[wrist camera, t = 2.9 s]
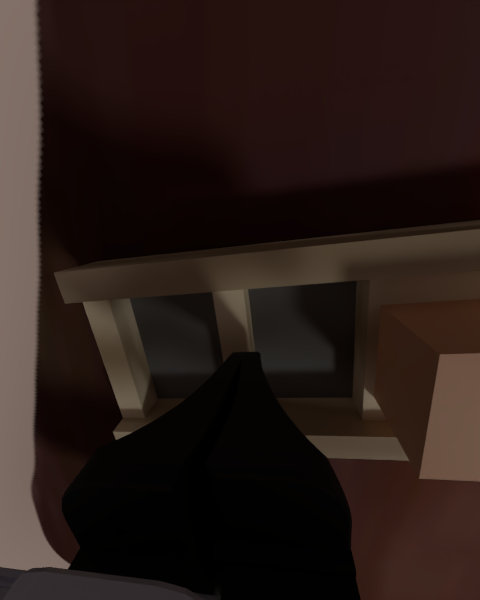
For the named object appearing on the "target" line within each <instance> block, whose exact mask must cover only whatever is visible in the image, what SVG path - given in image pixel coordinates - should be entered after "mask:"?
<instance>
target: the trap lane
mask: <svg viewBox="0 0 480 600" xmlns="http://www.w3.org/2000/svg"><path fill="white" fill-rule="evenodd" d="M54 275H55V278H56V280H57V283H58V286H59V288H60V291H61V294H62V296H63V299H64V302H65V303H78V302H83V305H84V308H85V310H86V313H87V316H88V319H89V322H90V325H91V328H92V331H93V333H94V336H95V339H96V342H97V345H98V348H99V351H100V354H101V356H102V359H103V362H104V365H105V368H106V371H107V374H108V377H109V379H110V382H111V385H112V388H113V391H114V394H115V397H116V399H117V402H118V405H119V408H120V411H121V414H122V417H123V419H122V420H121V421H120V423H119V424H118V425H117V427H116V428H115V430H114V431H113V433H114V436H115V438H116V440H117V439H120V438H122V437H124V436H126V435H128V434H130V433H132V432H134V431H136V430H138V429H140V428H141V427H143V426H145V425H147V424H149V423H150V422H152V421H154V420H155V419H157V418H159V417H160V416H162V415H163V414H165V413H166V412H168V411H169V410H171V409H172V408H174V407H175V406H177V405H178V404H180V403H181V402H182V401H184V400H185V399H186V398H187V397H189V396H190V395H191V394H192V393H194V392H195V391H196V390H197V389H198V388H199V387H200V386H201V385H202V384H203V383H204V382H206V381H207V380H208V379H209V378H210V377H211V376H212V375H213V373H214V372H215V371H216V370H217V369H218V368H219V367H220V366H221V365H222V364H223V363H224V361H225V360H226V359H227V358H228V357H229V356H230V355H231V354H232V353H233V352H257V351H258V352H259V353H260V354H261V363H262V369H263V372H264V374H265V377H266V379H267V381H268V384H269V386H270V388H271V390H272V392H273V393H274V395H275V397H276V399H277V400H278V402H279V403H280V405H281V406H282V408H283V409H284V411H285V412H286V414H287V415H288V416H289V417H290V419H291V420H292V421H293V422H294V424H295V425H296V426H297V427H298V429H299V430H300V431H301V432H302V433H303V434H304V435H305V436H306V437H307V438H308V440H309V441H310V442H311V443H312V444H314V445H315V446H316V447H317V448H318V449H319V450H320V451H321V452H322V453H323V454H324V455H325V456H326V457H327V458H349V459H379V460H408V461H409V459H408V457H407V456H406V454H405V452H404V450H403V448H402V447H401V445H400V443H399V441H398V439H397V438H396V436H395V434H394V432H393V430H392V429H391V427H390V425H389V423H388V421H387V420H386V418H385V416H384V414H383V412H382V411H381V409H380V407H379V405H378V403H377V402H376V400H375V398H374V393H375V379H376V365H377V351H378V337H379V323H380V309H381V305H392V304H408V303H424V302H440V301H456V300H472V299H480V220H474V221H465V222H456V223H446V224H437V225H428V226H419V227H409V228H400V229H391V230H382V231H372V232H363V233H354V234H345V235H336V236H326V237H317V238H308V239H299V240H289V241H280V242H271V243H262V244H253V245H243V246H234V247H225V248H216V249H206V250H197V251H188V252H179V253H170V254H160V255H151V256H142V257H133V258H123V259H114V260H105V261H97V262H93V263H90V264H86V265H82V266H78V267H74V268H71V269H67V270H63V271H59V272H55V273H54Z"/></svg>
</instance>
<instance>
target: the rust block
mask: <svg viewBox="0 0 480 600" xmlns="http://www.w3.org/2000/svg"><path fill="white" fill-rule="evenodd" d="M374 398H375V400H376V402H377V403H378V405H379V407H380V409H381V411H382V412H383V414H384V416H385V418H386V420H387V421H388V423H389V425H390V427H391V429H392V430H393V432H394V434H395V436H396V438H397V439H398V441H399V443H400V445H401V447H402V448H403V450H404V452H405V454H406V456H407V457H408V459H409V461H410V463H411V465H412V466H413V468H414V470H415V472H416V474H417V475H418V477H419V479H441V480H464V481H480V299H472V300H456V301H440V302H424V303H408V304H392V305H381V309H380V323H379V337H378V351H377V365H376V379H375V393H374Z"/></svg>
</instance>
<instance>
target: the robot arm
mask: <svg viewBox="0 0 480 600" xmlns="http://www.w3.org/2000/svg"><path fill="white" fill-rule="evenodd" d="M62 512H63V514H64V517H65V520H66V521H67V523H68V525H69V527H70V529H71V531H72V532H73V534H74V536H75V538H76V540H77V542H78V544H79V545H80V547H81V548H80V549H79V551H78V553H77V554H76V556H75V558H74V560H73V561H72V563H71V565H70V567H69V568H68V569H61V568H60V569H59V568H52V567H46V568H32V569H30V570H28V571H25V570H17V569H10V568H2V567H0V600H360V595H359V591H358V586H357V582H356V578H355V577H356V569H355V564H354V560H353V556H352V551H351V529H352V519H351V512H350V508H349V505H348V502H347V500H346V497H345V494H344V492H343V489H342V487H341V485H340V482H339V480H338V478H337V476H336V474H335V472H334V470H333V468H332V466H331V465H330V463H329V461H328V459H327V457H326V456H325V455H324V454H323V453H322V452H321V451H320V450H319V449H318V448H317V447H316V446H315V445H314V444H312V443H311V442H310V441H309V440H308V438H307V437H306V436H305V435H304V434H303V433H302V432H301V431H300V430H299V429H298V427H297V426H296V425H295V424H294V422H293V421H292V420H291V419H290V417H289V416H288V415H287V414H286V412H285V411H284V409H283V408H282V406H281V405H280V403H279V402H278V400H277V399H276V397H275V395H274V393H273V392H272V390H271V388H270V386H269V384H268V381H267V379H266V377H265V374H264V372H263V369H262V363H261V354H260V353H259V352H258V351H257V352H233V353H232V354H231V355H230V356H229V357H228V358H227V359H226V360H225V361H224V363H223V364H222V365H221V366H220V367H219V368H218V369H217V370H216V371H215V372H214V373H213V375H212V376H211V377H210V378H209V379H208V380H207V381H206V382H204V383H203V384H202V385H201V386H200V387H199V388H198V389H197V390H196V391H195V392H194V393H192V394H191V395H190V396H189V397H187V398H186V399H185V400H184V401H182V402H181V403H180V404H178V405H177V406H175V407H174V408H172V409H171V410H169V411H168V412H166V413H165V414H163V415H162V416H160V417H159V418H157V419H155V420H154V421H152V422H150V423H149V424H147V425H145V426H143V427H141V428H140V429H138V430H136V431H134V432H132V433H130V434H128V435H126V436H124V437H122V438H120V439H117V440H115V441H113V442H111V443H109V444H107V445H105V446H102V447H100V448H98V449H97V450H96V451H95V453H94V454H93V455H92V457H91V458H90V459H89V461H88V462H87V463H86V465H85V466H84V467H83V469H82V470H81V471H80V473H79V474H78V475H77V477H76V478H75V479H74V481H73V482H72V483H71V484H70V486H69V487H68V488H67V490H66V491H65V493H64V495H63V497H62Z"/></svg>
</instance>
